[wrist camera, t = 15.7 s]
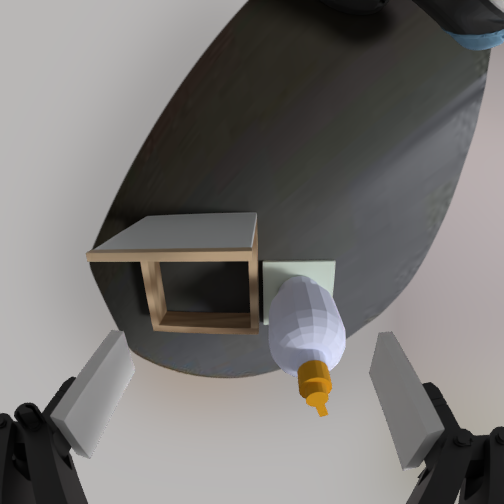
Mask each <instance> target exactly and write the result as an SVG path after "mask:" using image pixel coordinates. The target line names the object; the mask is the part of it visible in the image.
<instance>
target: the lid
mask: <svg viewBox="0 0 504 504" xmlns="http://www.w3.org/2000/svg"><path fill="white" fill-rule="evenodd" d="M256 220H257V212H244V213H207V214H180V215H159V216H146V217H145V218H143V219H141V220H140V221H138V222H136V223H135V224H133V225H132V226H130V227H128V228H127V229H125V230H124V231H122V232H120V233H119V234H117V235H116V236H114V237H113V238H111V239H109V240H108V241H106V242H105V243H103V244H102V245H100V246H99V247H97V248H96V249H94V250H90V251H89V252H87V253H86V257H87V261H88V262H182V261H252V260H253V247H252V246H253V239H254V233H255V226H256Z"/></svg>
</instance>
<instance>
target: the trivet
mask: <svg viewBox="0 0 504 504" xmlns="http://www.w3.org/2000/svg"><path fill="white" fill-rule="evenodd" d="M334 274H335V260H270V261H263V308H264V325H269V310H270V306H271V302H272V300H273V299H274V297H275V296H276V295H277V294H278V291H279V288H280V287H281V286H282V284H283V283H284V282H285V281H286V280H288V279H290V278H292V277H297V276H304V277H309V278H311V279H312V280H314V281H315V282H317V284H318V285H320V286H321V287H323V288H324V289H325V290H327V291H328V292H329V293H330V295H331V297H333V286H334Z"/></svg>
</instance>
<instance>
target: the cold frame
mask: <svg viewBox="0 0 504 504" xmlns="http://www.w3.org/2000/svg"><path fill="white" fill-rule="evenodd" d="M252 247H253V260H252V261H249V288H250V313H209V312H176V311H167V308H166V303H165V297H164V291H163V285H162V278H161V272H160V265H159V262H141V268H142V274H143V279H144V285H145V290H146V296H147V301H148V306H149V311H150V316H151V320H152V325H153V329H154V331H167V332H185V333H210V334H258V333H259V282H258V240H257V220H256V226H255V233H254V239H253V246H252Z"/></svg>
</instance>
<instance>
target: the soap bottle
mask: <svg viewBox="0 0 504 504" xmlns="http://www.w3.org/2000/svg"><path fill="white" fill-rule="evenodd" d="M345 342H346V340H345V328H344V325H343V323H342V320H341V317H340V315H339V312H338V310H337V307H336V305H335V302H334V300H333V298H332V297H331V295H330V293H329V292H328V291H327V290H325V289H324V288H323V287H321V286H320V285H318V284H317V282H315V281H314V280H312V279H311V278H309V277H304V276H297V277H292V278H290V279H288V280H286V281H285V282H284V283H283V284H282V286H281V287H280V288H279V291H278V294H277V295H276V296H275V297H274V299H273V300H272V302H271V306H270V310H269V347H270V351H271V355H272V357H273V359H274V361H275V362H276V363H277V364H278V365H279V367H280V368H281V369H282V370H283V371H284V372H286V373H288V374H290V375H292V376H294V377H298V384H299V392H300V395H301V396H302V397H303V398H306V403H307V404H308V405H310V406H313V407H316V409H317V411H318V413H319V415H320V417H322V416H326V415H328V413H327V409H326V407H325V403H326V402H327V401H328V394H329V393H330V391H331V389H332V383H331V379H330V374H329V371H330V370H331V369H332V368H334V367H335V366H336V364H338V363H339V360H340V358H341V356H342V354H343V352H344V349H345Z"/></svg>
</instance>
